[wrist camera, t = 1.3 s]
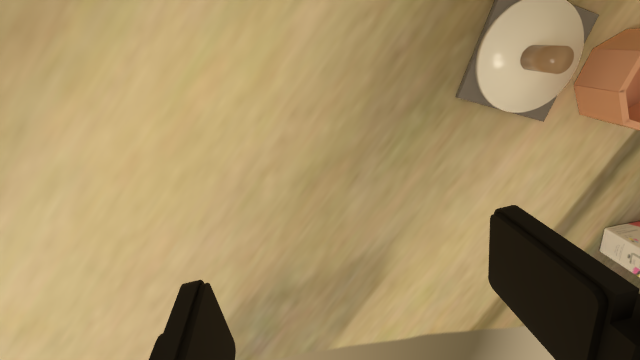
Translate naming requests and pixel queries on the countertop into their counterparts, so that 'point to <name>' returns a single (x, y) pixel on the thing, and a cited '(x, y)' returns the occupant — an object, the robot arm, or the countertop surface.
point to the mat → (469, 83)
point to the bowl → (612, 81)
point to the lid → (529, 54)
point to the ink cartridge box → (623, 245)
